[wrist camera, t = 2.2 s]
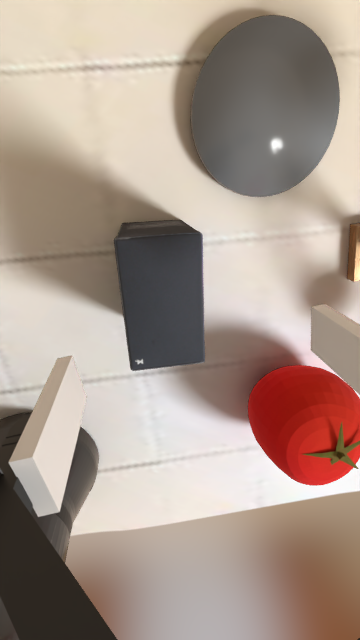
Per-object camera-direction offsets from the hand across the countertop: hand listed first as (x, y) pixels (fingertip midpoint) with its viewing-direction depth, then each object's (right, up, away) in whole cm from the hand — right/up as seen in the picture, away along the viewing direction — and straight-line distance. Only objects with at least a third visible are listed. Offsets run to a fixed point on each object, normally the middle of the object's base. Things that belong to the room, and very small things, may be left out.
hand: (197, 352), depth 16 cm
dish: (+6, +20, +11) cm, 23 cm away
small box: (-3, +7, +15) cm, 17 cm away
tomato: (+13, -8, +24) cm, 28 cm away
